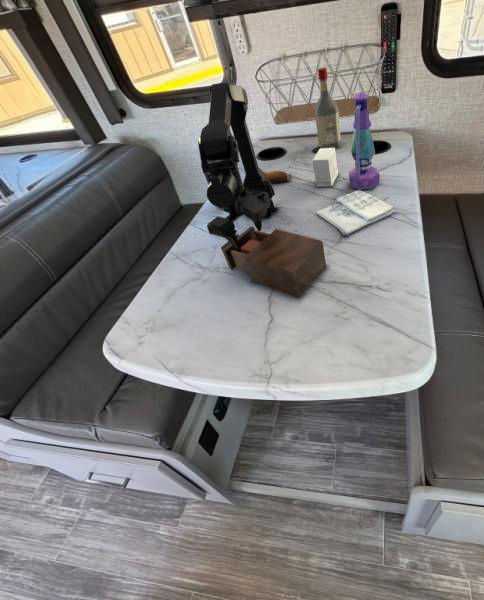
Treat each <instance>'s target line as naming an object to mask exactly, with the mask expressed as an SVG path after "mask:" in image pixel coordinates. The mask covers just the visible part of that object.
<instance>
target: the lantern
mask: <svg viewBox="0 0 484 600" xmlns="http://www.w3.org/2000/svg"><path fill="white" fill-rule="evenodd" d="M370 96H371V95H370V94H369V93H367V92H364V91H360V92H358V93H356V94H354V95H352V96H351V97H352V99H353V100H354V101H355V109H354V111H353V112H354V113H353V115H354V116H353V117H354V121H353V122H352V126H353V129H354V131H353V135H352V139H351V141H352V142H351V148H350V149H351V150H350V153H351V156H352V159H353V160H354V164H355V165H354V168H353V169H351V170H350V171H349V172H348V179H349V184H350V188H354V189H357V190H366V189H372V188H373V187H376V186H377V185H378V184H380V173H379V170H378V167H375V166H374V167H373V166H372V160H373V158H374V157H375V153H376V149H375V144H374V140H373V135H372V132H371V129H370V128H371V126H372V122H371V120H370V110H369V108H368V98H370Z"/></svg>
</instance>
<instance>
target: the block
mask: <svg viewBox="0 0 484 600" xmlns="http://www.w3.org/2000/svg"><path fill="white" fill-rule="evenodd" d="M259 243H260V242H258V241H255V240H252V239H251V240H249V241H248V242H247V243H246V244H245V245H244V246H242V247H241V250H242V253H244V254H248V253H249V252H250V251H252V250H253V249H254V248H255V247H256V246H257V245H258V244H259Z"/></svg>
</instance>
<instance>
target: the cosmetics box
mask: <svg viewBox="0 0 484 600" xmlns="http://www.w3.org/2000/svg"><path fill="white" fill-rule="evenodd" d="M336 154H337V153H336V149H335V148H321V147H320V148H319V149H318V150H317V152H316V154H315V155H314V157H312V167H313V172H314V173H313V174H314V180H315V184H316V185H315V186H316V187H317V188H318V187H319V188H320V187H322V188H324V187H325V188H326V187H331V188H332V187H333V185H334V183H335V181H336V180H337V177H338V175H339V170H338V164H337V163H338V162H337V155H336Z"/></svg>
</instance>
